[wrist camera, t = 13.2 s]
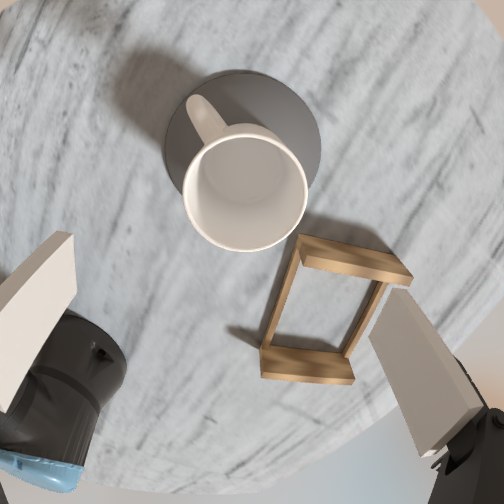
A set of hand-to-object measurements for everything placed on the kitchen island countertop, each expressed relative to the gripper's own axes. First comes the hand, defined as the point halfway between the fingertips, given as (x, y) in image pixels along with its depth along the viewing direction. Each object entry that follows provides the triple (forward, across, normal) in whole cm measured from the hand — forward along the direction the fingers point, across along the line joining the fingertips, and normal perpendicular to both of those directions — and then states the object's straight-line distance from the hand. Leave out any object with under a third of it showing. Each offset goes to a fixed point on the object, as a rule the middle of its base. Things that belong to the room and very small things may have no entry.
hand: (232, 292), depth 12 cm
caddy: (+21, +14, -14) cm, 29 cm away
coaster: (+21, 0, +2) cm, 21 cm away
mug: (+20, -1, +2) cm, 21 cm away
